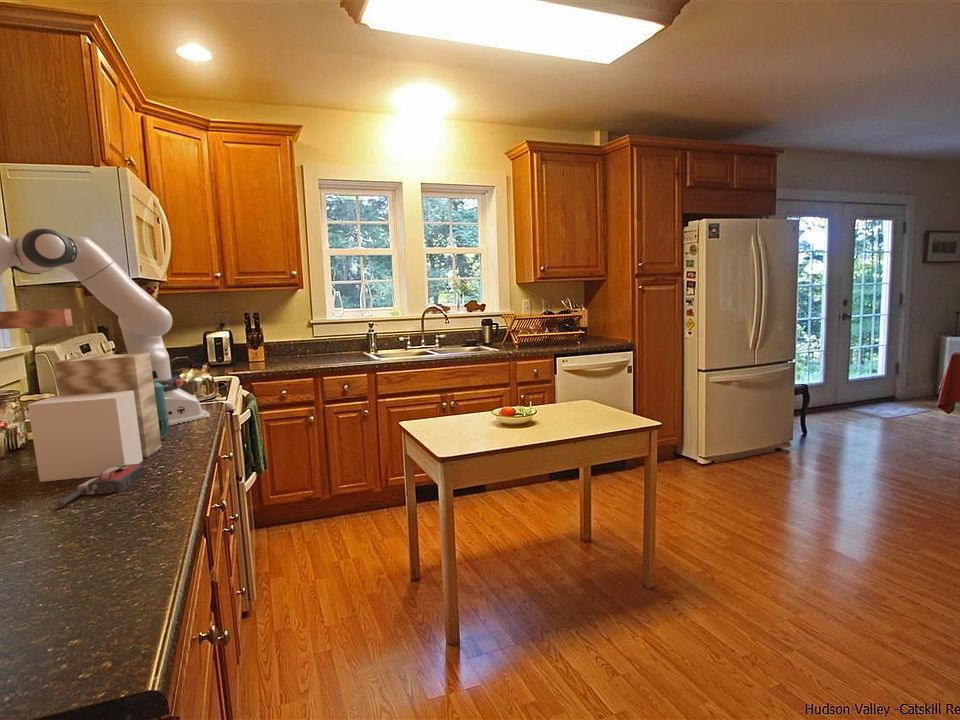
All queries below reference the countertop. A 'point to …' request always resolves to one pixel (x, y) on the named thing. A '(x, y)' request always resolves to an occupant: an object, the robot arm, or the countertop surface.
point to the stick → (35, 318)
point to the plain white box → (84, 434)
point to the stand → (116, 387)
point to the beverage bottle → (161, 406)
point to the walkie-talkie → (109, 481)
